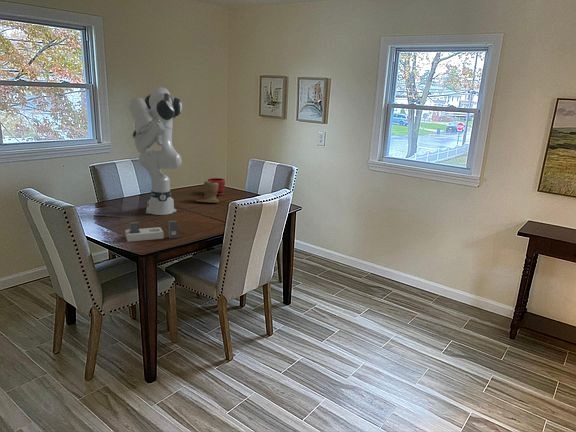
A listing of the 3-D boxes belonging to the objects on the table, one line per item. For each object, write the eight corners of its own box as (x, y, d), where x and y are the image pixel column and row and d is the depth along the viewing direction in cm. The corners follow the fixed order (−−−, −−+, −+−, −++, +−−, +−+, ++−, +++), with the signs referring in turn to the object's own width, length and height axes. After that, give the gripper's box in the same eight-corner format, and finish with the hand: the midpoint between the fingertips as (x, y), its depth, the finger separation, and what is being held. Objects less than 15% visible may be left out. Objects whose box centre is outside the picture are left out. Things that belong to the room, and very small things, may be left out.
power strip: (123, 230, 237) (122, 215, 234) (157, 227, 245) (157, 213, 242) (127, 241, 220) (127, 225, 218) (163, 238, 228) (163, 223, 226)
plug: (168, 236, 231) (168, 220, 229) (176, 236, 233) (176, 220, 231) (169, 238, 229) (169, 222, 226) (177, 238, 230) (177, 221, 228)
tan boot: (220, 200, 313) (220, 180, 309) (217, 204, 302) (218, 183, 297) (199, 199, 312) (199, 179, 308) (196, 203, 301) (196, 182, 297)
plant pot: (228, 194, 332) (228, 179, 329) (216, 197, 322) (217, 181, 318) (215, 191, 339) (215, 176, 336) (203, 194, 328) (203, 178, 325)
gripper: (162, 115, 211) (172, 138, 207) (141, 139, 222) (150, 162, 218) (151, 113, 206) (161, 136, 202) (130, 138, 217) (139, 161, 213)
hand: (155, 150), depth 210 cm, fingers open, 8 cm apart
